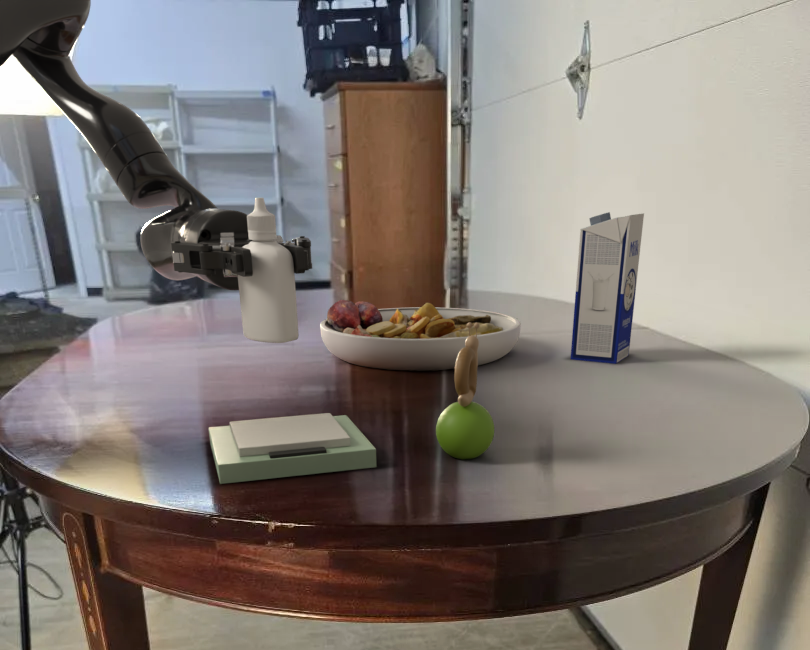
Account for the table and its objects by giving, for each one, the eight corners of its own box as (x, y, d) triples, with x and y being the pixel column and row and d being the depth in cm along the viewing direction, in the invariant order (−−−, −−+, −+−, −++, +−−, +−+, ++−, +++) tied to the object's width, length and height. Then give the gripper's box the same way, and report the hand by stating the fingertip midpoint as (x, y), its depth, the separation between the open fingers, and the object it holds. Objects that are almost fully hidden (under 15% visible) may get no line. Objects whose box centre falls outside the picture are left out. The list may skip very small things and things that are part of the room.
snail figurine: (497, 447, 76) (503, 322, 71) (489, 469, 70) (494, 334, 65) (443, 444, 77) (444, 321, 72) (430, 465, 71) (431, 332, 66)
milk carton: (615, 365, 110) (631, 213, 101) (569, 361, 113) (581, 213, 104) (628, 356, 115) (644, 211, 107) (584, 353, 118) (597, 211, 110)
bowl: (522, 339, 129) (525, 290, 126) (514, 379, 102) (517, 318, 99) (348, 335, 134) (346, 288, 131) (296, 373, 107) (292, 315, 104)
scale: (220, 486, 67) (216, 455, 66) (210, 446, 77) (207, 419, 76) (376, 469, 70) (376, 440, 69) (347, 433, 81) (346, 407, 80)
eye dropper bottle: (285, 332, 75) (275, 196, 70) (302, 342, 70) (293, 197, 65) (240, 336, 73) (227, 197, 68) (255, 346, 68) (241, 199, 63)
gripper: (146, 210, 76) (186, 217, 62) (284, 207, 81) (349, 212, 68) (157, 290, 79) (197, 313, 65) (289, 281, 85) (352, 301, 71)
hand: (274, 262), depth 66 cm, fingers closed on eye dropper bottle, 4 cm apart
